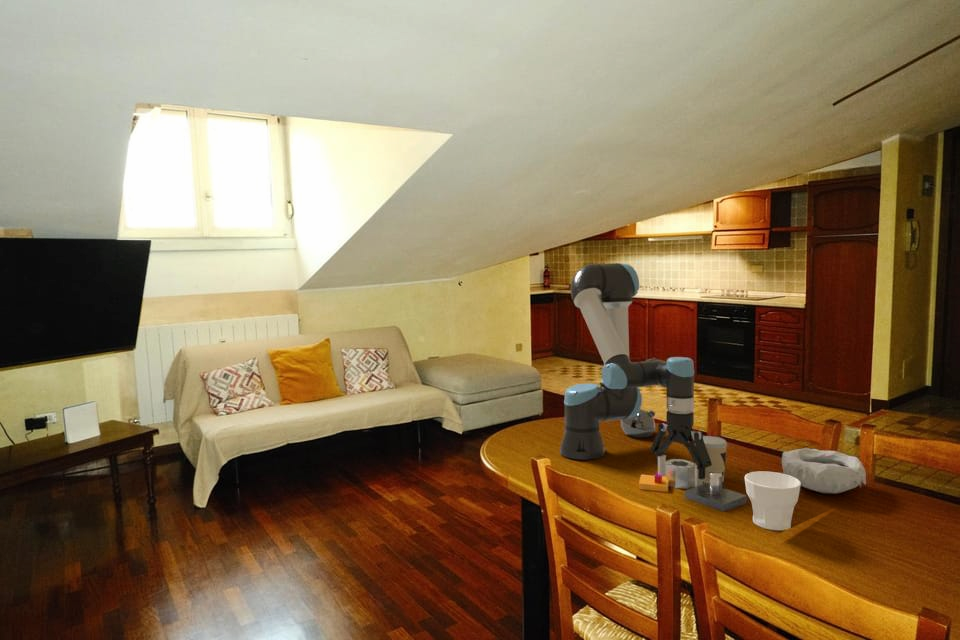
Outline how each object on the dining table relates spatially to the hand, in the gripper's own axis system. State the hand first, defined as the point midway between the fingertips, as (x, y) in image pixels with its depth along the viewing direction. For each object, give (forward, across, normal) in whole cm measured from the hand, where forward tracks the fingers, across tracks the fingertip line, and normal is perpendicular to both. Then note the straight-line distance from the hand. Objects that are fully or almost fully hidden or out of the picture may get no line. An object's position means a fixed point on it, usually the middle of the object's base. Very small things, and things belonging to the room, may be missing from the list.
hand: (679, 483), depth 175 cm
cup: (0, +31, -5) cm, 31 cm away
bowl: (0, +27, +27) cm, 38 cm away
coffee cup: (0, +3, +10) cm, 10 cm away
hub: (0, 0, 0) cm, 0 cm away
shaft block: (0, +14, -3) cm, 14 cm away
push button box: (+1, -3, -7) cm, 8 cm away
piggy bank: (0, -39, +26) cm, 47 cm away
